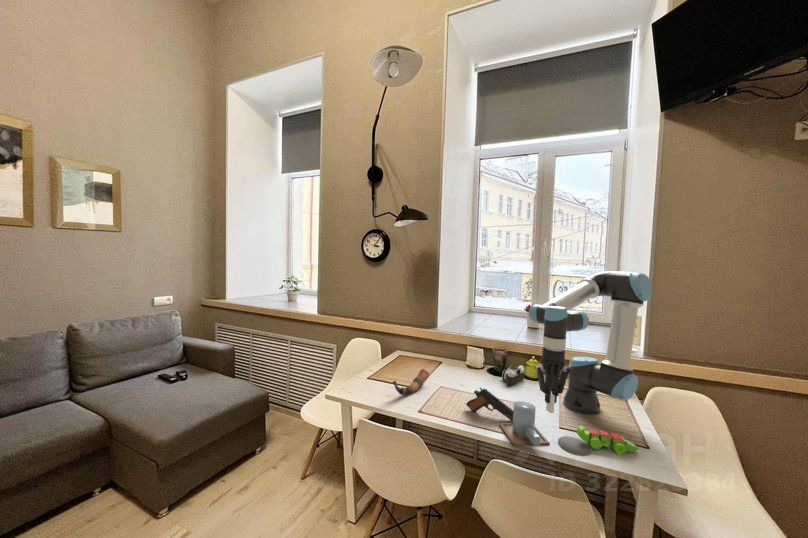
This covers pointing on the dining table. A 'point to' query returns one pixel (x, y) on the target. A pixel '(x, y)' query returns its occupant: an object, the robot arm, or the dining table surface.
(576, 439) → the disc
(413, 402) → the dining table surface
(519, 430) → the grey l-shaped block
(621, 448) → the toy crocodile
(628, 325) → the robot arm
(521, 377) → the camera
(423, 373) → the drinking horn
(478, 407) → the handgun
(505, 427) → the brown square tray
